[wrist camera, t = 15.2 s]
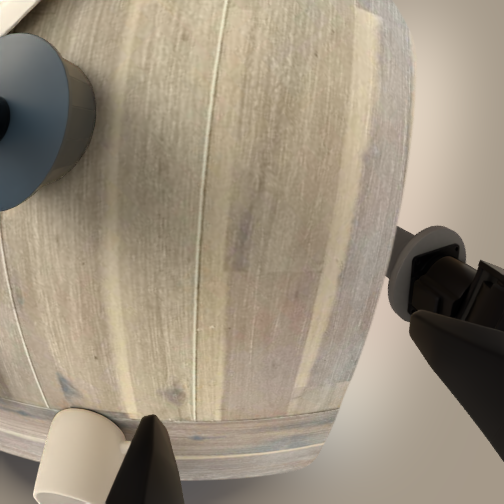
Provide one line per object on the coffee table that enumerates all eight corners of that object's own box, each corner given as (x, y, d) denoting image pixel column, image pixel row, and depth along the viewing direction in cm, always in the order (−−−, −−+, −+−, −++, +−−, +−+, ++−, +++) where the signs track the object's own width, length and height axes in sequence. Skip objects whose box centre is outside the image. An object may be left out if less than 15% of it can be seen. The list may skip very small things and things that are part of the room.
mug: (146, 402, 25) (143, 501, 15) (169, 449, 28) (174, 530, 18) (40, 404, 23) (15, 484, 13) (74, 449, 26) (63, 521, 16)
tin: (87, 40, 14) (58, 15, 9) (107, 163, 17) (80, 173, 12) (-14, 89, 13) (-57, 85, 8) (5, 200, 16) (-36, 221, 12)
